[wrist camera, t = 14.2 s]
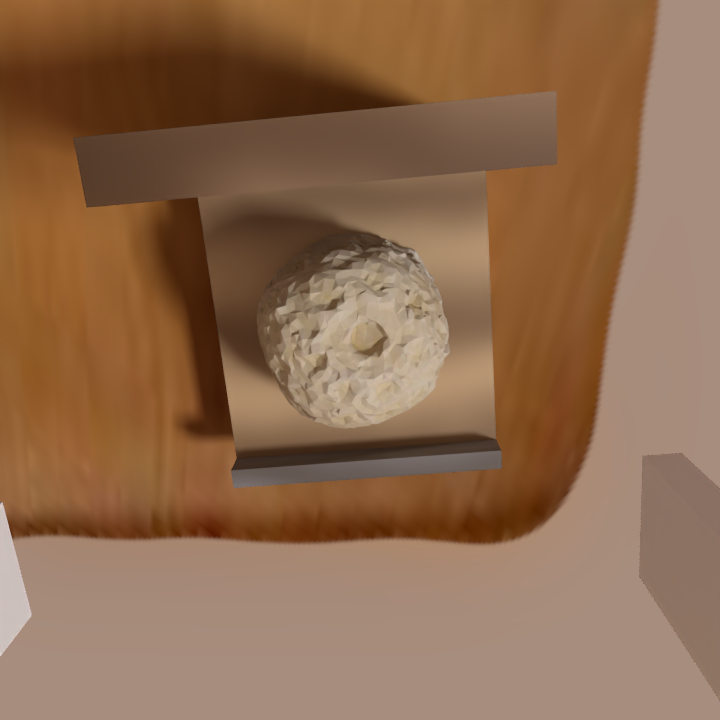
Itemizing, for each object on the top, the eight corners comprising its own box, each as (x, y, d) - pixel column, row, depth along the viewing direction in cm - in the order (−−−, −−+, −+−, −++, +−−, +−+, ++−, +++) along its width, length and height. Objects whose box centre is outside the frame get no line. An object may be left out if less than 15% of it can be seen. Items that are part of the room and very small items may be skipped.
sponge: (388, 224, 37) (287, 151, 28) (516, 335, 33) (445, 289, 24) (287, 352, 39) (162, 321, 30) (395, 471, 35) (289, 475, 26)
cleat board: (205, 153, 35) (73, 137, 20) (474, 127, 34) (556, 90, 19) (249, 453, 40) (169, 632, 24) (487, 435, 39) (561, 608, 23)
